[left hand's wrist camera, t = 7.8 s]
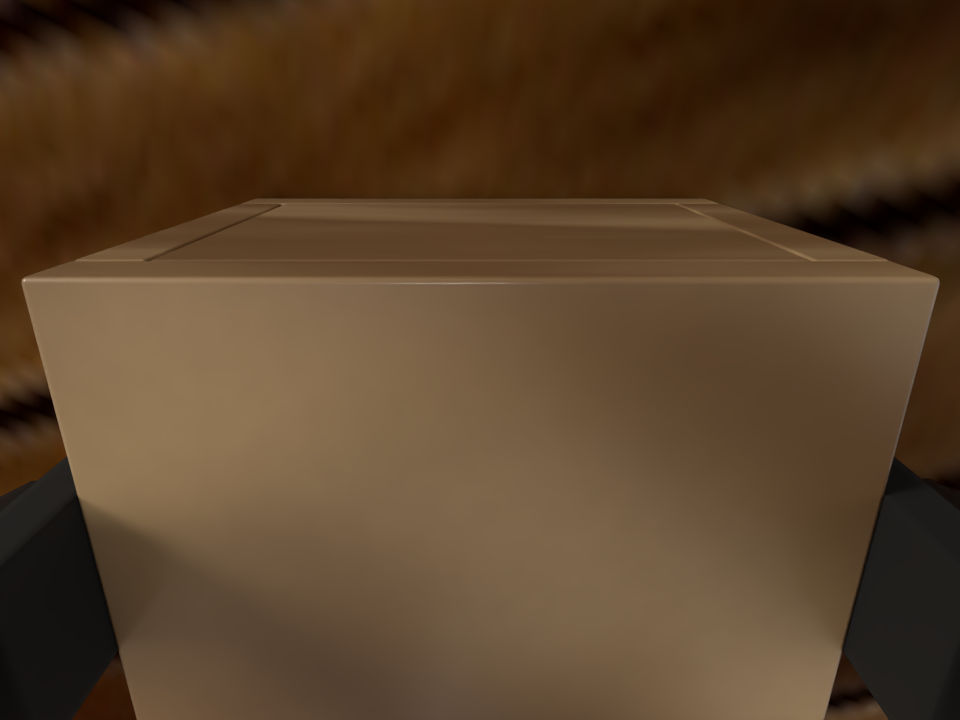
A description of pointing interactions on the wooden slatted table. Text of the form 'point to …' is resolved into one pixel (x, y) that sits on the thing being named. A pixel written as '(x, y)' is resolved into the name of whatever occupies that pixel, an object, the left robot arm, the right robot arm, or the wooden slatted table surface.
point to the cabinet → (480, 455)
